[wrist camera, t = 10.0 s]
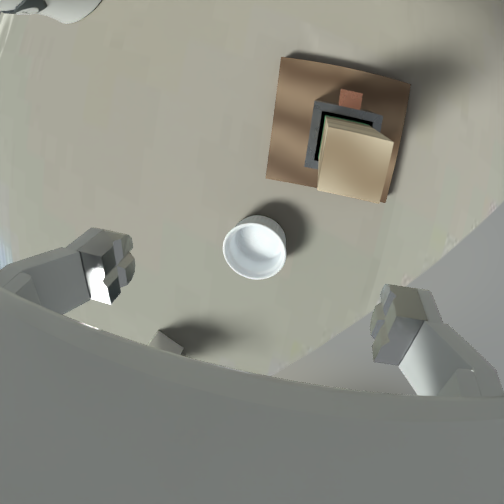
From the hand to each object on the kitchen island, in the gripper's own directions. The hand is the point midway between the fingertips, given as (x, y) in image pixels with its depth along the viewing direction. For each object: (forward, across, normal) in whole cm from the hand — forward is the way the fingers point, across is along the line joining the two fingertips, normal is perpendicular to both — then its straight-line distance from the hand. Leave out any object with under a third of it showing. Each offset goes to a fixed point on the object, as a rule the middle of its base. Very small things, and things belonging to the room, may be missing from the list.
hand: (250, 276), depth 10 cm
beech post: (+26, -4, -1) cm, 26 cm away
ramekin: (+34, +4, +17) cm, 38 cm away
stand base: (+34, -4, -1) cm, 34 cm away
